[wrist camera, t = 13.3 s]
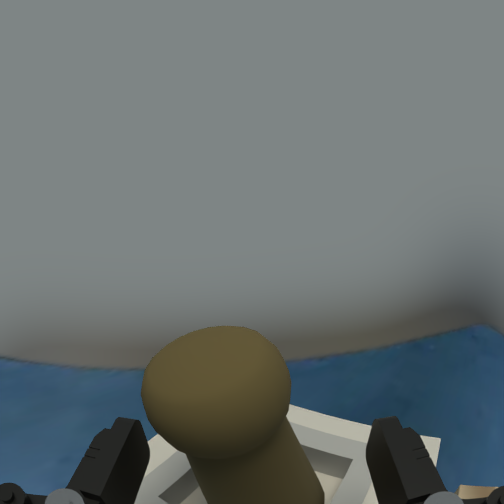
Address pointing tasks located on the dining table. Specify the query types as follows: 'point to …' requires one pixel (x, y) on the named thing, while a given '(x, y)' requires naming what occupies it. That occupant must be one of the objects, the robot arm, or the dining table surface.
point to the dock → (314, 445)
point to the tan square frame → (473, 491)
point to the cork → (230, 417)
